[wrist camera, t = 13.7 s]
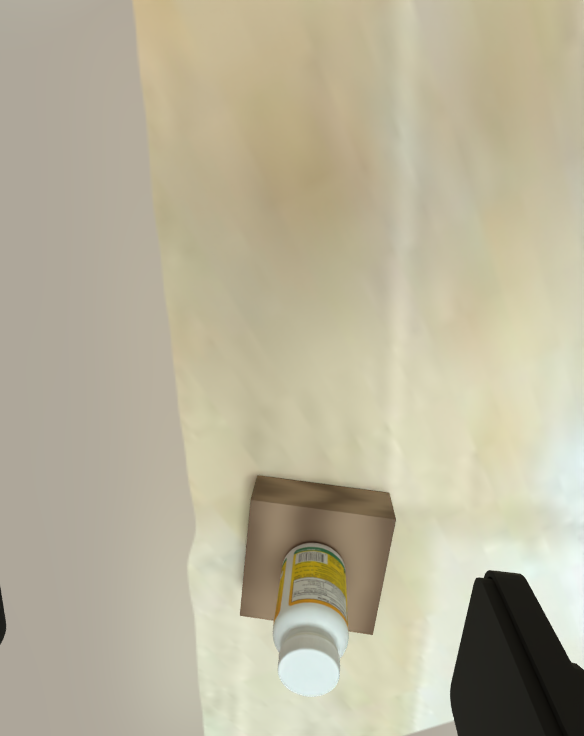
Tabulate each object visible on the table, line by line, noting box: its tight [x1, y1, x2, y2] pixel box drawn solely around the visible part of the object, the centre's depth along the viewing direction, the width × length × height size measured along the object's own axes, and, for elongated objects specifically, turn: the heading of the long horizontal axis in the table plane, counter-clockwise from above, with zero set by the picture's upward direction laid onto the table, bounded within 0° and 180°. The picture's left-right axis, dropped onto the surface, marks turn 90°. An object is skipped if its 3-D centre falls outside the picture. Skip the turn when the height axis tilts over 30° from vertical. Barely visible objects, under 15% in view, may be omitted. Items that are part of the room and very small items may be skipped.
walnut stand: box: [240, 476, 396, 635], centre depth 41 cm, size 12×12×4 cm
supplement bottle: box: [273, 543, 349, 697], centre depth 34 cm, size 6×6×10 cm
